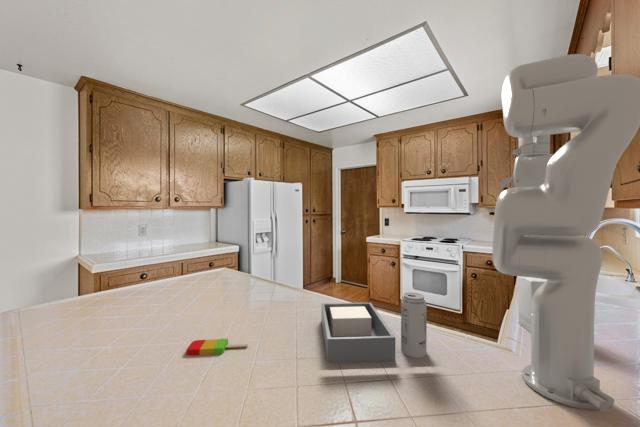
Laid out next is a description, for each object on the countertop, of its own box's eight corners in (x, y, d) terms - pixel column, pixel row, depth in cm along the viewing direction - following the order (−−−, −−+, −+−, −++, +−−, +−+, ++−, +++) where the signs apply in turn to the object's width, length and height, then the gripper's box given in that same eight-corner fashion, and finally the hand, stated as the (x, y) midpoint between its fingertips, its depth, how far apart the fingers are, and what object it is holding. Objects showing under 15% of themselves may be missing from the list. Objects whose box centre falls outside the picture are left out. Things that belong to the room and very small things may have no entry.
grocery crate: (395, 364, 64) (395, 337, 64) (327, 367, 63) (327, 339, 63) (370, 322, 88) (370, 302, 88) (321, 323, 87) (321, 303, 87)
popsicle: (192, 346, 73) (192, 339, 73) (249, 343, 75) (249, 336, 75) (184, 357, 68) (184, 350, 68) (246, 354, 69) (245, 347, 69)
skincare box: (557, 336, 78) (557, 282, 77) (530, 334, 79) (531, 281, 79) (539, 324, 86) (540, 275, 86) (516, 322, 87) (516, 274, 87)
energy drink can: (426, 363, 64) (426, 300, 64) (400, 358, 66) (400, 297, 66) (426, 351, 70) (426, 293, 70) (401, 347, 72) (401, 291, 72)
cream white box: (371, 335, 76) (371, 317, 76) (332, 336, 76) (332, 318, 76) (364, 322, 85) (364, 306, 85) (329, 323, 85) (329, 307, 85)
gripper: (500, 152, 83) (500, 208, 83) (575, 146, 75) (575, 208, 75) (498, 157, 90) (498, 208, 90) (567, 151, 81) (567, 208, 81)
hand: (533, 208), depth 82 cm, fingers open, 9 cm apart
